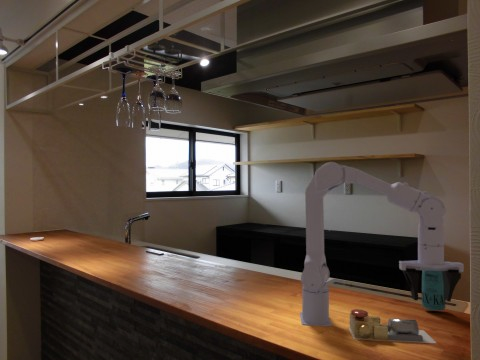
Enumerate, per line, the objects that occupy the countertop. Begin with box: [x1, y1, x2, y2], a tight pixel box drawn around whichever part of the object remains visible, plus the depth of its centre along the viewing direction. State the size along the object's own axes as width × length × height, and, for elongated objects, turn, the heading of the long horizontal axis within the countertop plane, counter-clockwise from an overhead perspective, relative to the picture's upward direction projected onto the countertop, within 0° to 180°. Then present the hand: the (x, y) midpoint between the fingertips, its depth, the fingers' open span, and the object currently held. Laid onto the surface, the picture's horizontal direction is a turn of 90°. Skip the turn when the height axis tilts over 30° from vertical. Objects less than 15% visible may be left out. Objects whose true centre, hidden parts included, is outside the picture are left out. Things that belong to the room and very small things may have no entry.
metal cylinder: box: [387, 318, 420, 335], centre depth 91 cm, size 4×6×4 cm, turn 84°
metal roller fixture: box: [347, 323, 437, 344], centre depth 92 cm, size 8×19×2 cm, turn 84°
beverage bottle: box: [420, 259, 447, 312], centre depth 110 cm, size 6×7×20 cm
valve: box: [349, 308, 389, 342], centre depth 92 cm, size 10×8×5 cm
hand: (431, 299), depth 91 cm, fingers open, 7 cm apart
